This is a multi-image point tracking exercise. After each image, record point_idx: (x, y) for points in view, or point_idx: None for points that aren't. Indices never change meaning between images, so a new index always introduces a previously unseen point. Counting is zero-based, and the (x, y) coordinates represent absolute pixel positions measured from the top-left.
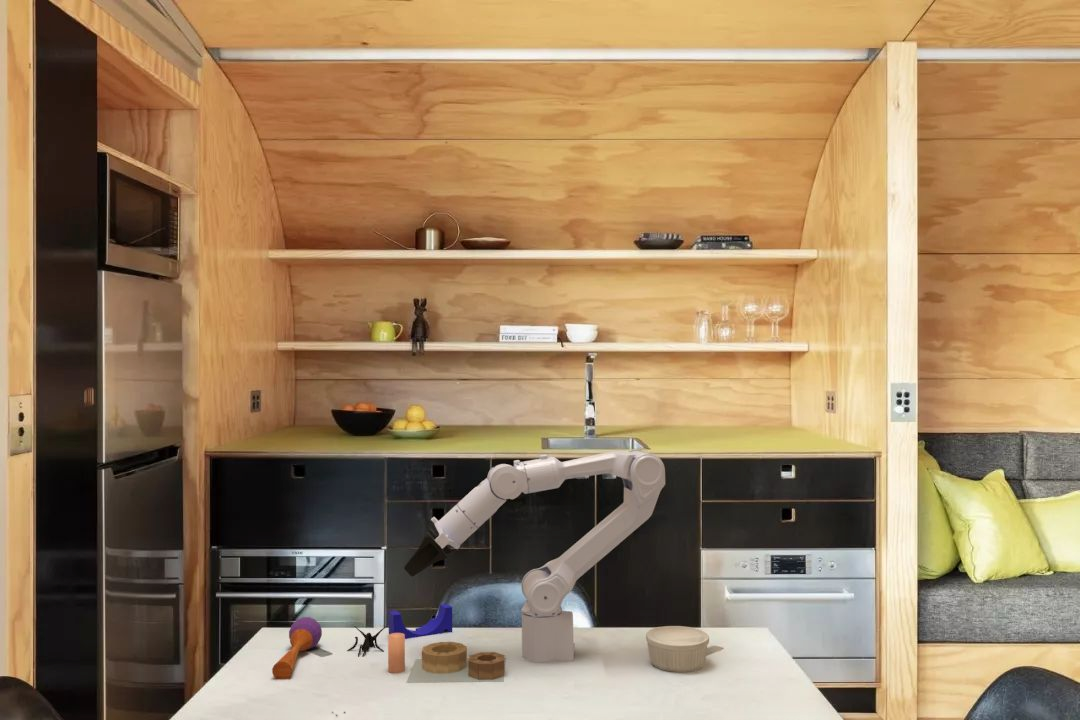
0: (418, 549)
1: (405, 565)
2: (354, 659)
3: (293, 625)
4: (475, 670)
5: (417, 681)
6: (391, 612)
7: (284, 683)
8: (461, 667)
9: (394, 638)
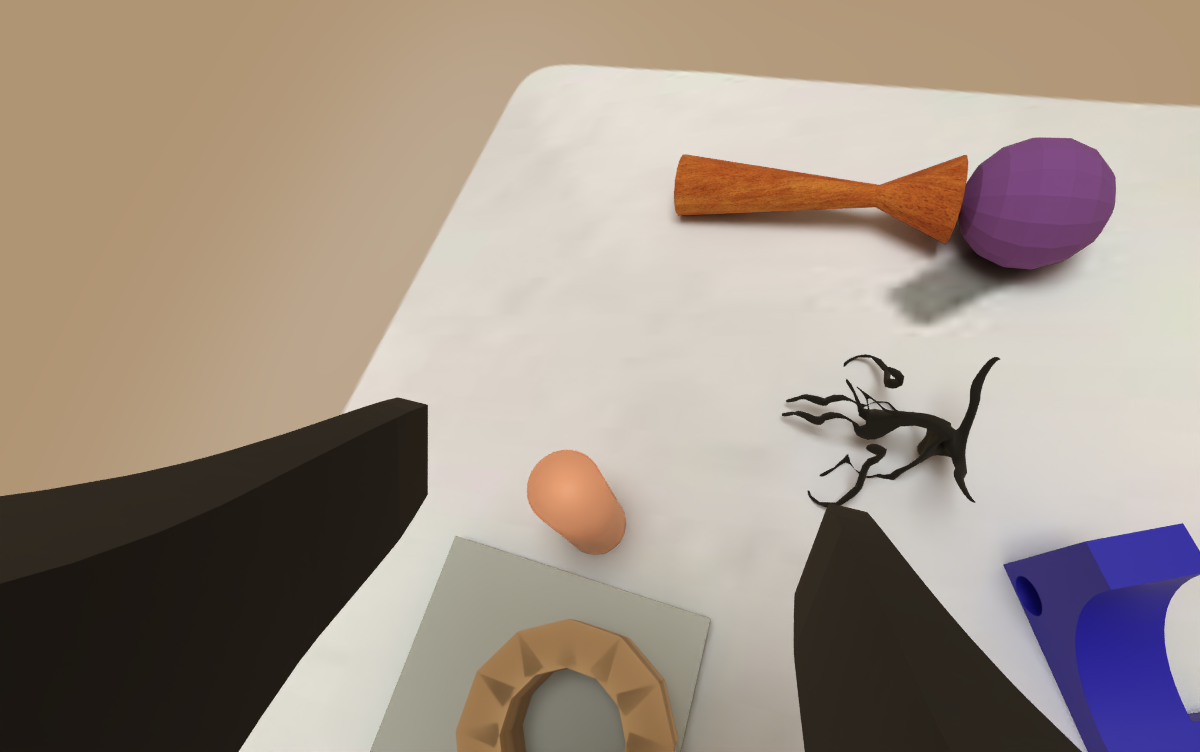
0: (134, 478)
1: (380, 403)
2: (831, 395)
3: (1024, 141)
4: None
5: (448, 577)
6: (1154, 537)
7: (644, 210)
8: None
9: (531, 474)
